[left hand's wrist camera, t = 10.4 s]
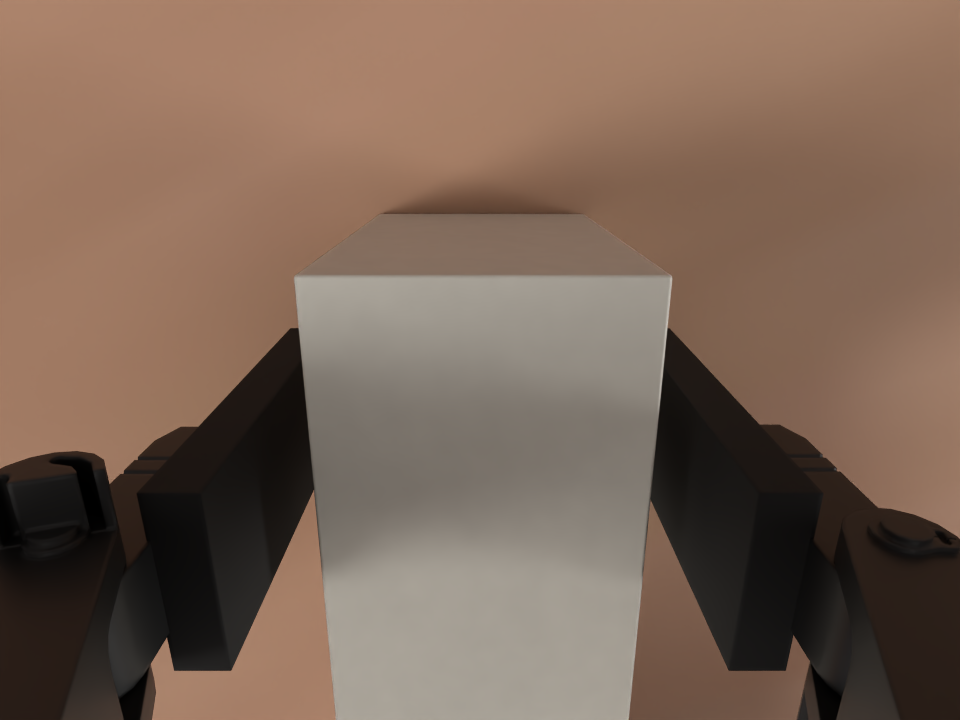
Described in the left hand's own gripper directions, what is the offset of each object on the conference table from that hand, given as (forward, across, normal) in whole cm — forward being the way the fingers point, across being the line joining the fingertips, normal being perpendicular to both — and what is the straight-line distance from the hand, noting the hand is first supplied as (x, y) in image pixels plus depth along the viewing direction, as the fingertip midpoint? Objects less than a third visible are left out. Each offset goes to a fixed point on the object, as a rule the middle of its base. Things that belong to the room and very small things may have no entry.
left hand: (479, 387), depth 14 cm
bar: (+2, 0, -28) cm, 28 cm away
